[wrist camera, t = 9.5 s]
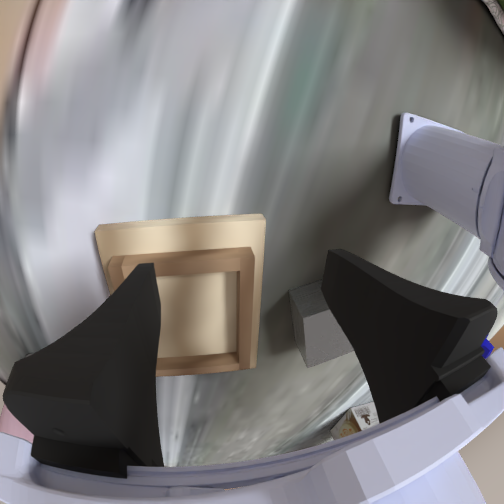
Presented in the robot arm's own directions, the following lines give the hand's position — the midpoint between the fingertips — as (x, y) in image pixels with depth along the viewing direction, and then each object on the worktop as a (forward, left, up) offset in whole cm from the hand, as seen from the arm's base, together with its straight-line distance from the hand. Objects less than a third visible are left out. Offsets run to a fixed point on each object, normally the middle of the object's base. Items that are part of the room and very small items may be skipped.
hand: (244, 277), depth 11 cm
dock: (+3, +9, -9) cm, 13 cm away
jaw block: (-9, +11, -10) cm, 17 cm away
